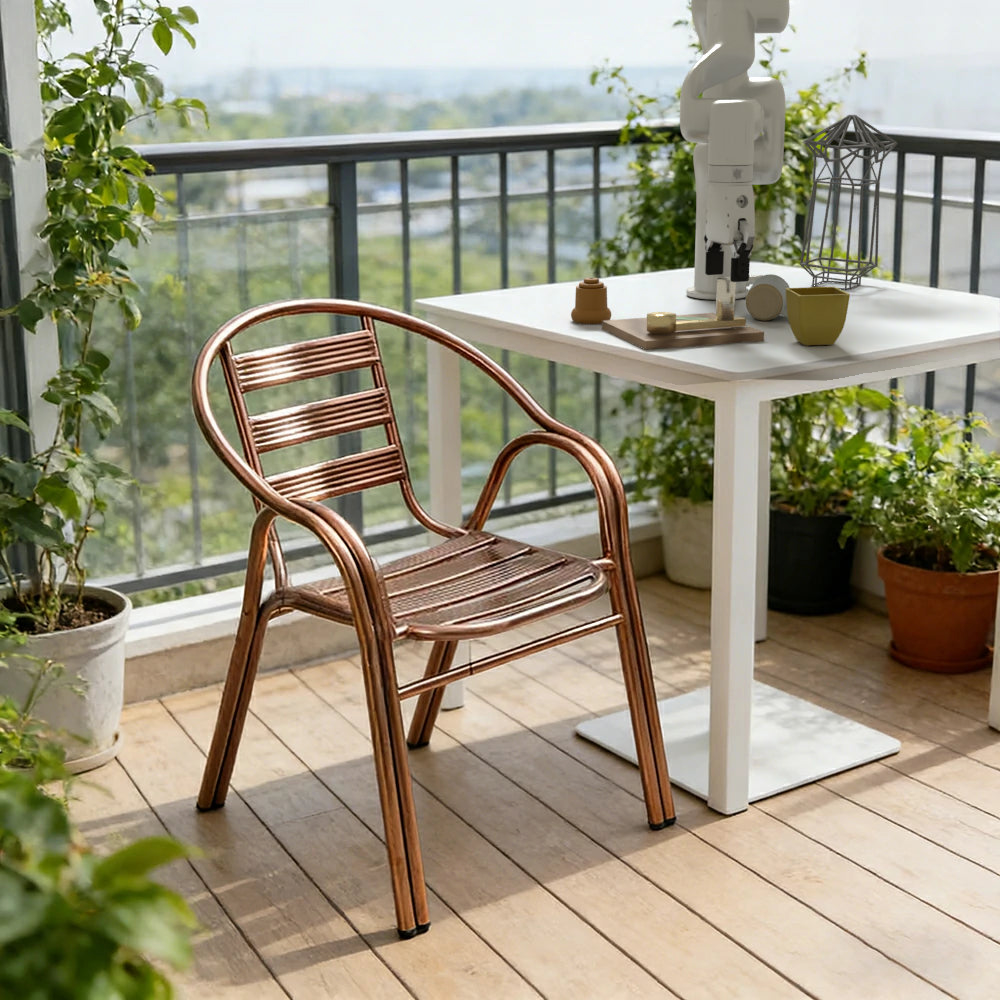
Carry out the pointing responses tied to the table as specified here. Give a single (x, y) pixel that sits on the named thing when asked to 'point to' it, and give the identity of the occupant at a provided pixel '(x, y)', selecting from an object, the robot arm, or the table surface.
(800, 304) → the flower pot
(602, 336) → the table surface
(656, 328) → the lever
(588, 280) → the ornamental finial
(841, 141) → the geometric lantern
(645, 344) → the brown flat wooden board
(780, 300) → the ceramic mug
